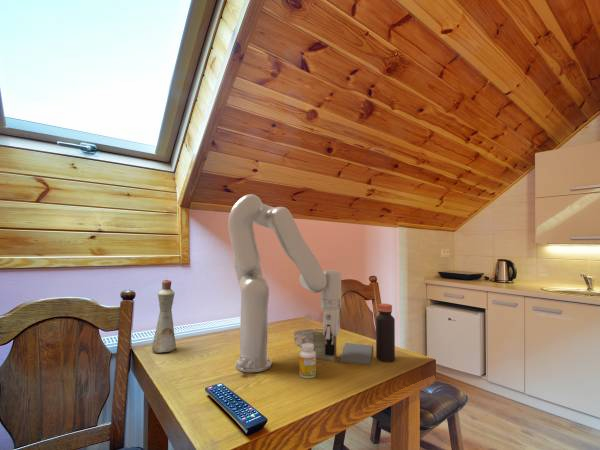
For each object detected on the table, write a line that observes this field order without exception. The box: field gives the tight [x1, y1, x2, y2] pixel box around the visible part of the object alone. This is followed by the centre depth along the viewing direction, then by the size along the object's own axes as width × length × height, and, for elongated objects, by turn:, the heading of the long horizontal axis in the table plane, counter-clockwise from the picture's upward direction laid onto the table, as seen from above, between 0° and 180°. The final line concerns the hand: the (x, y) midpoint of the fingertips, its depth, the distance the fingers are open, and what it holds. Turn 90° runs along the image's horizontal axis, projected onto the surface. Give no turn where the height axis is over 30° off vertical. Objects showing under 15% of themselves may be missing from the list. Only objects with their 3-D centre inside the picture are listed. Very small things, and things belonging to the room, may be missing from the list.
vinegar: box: [375, 303, 396, 363], centre depth 117 cm, size 7×7×20 cm
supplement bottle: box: [298, 343, 317, 379], centre depth 102 cm, size 5×5×10 cm
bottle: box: [151, 278, 177, 354], centre depth 124 cm, size 9×9×28 cm
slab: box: [313, 328, 337, 362], centre depth 117 cm, size 4×8×10 cm, turn 74°
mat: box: [339, 342, 373, 366], centre depth 122 cm, size 20×11×1 cm, turn 165°
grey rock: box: [293, 328, 316, 349], centre depth 133 cm, size 14×5×20 cm
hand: (330, 352), depth 116 cm, fingers closed on slab, 4 cm apart
